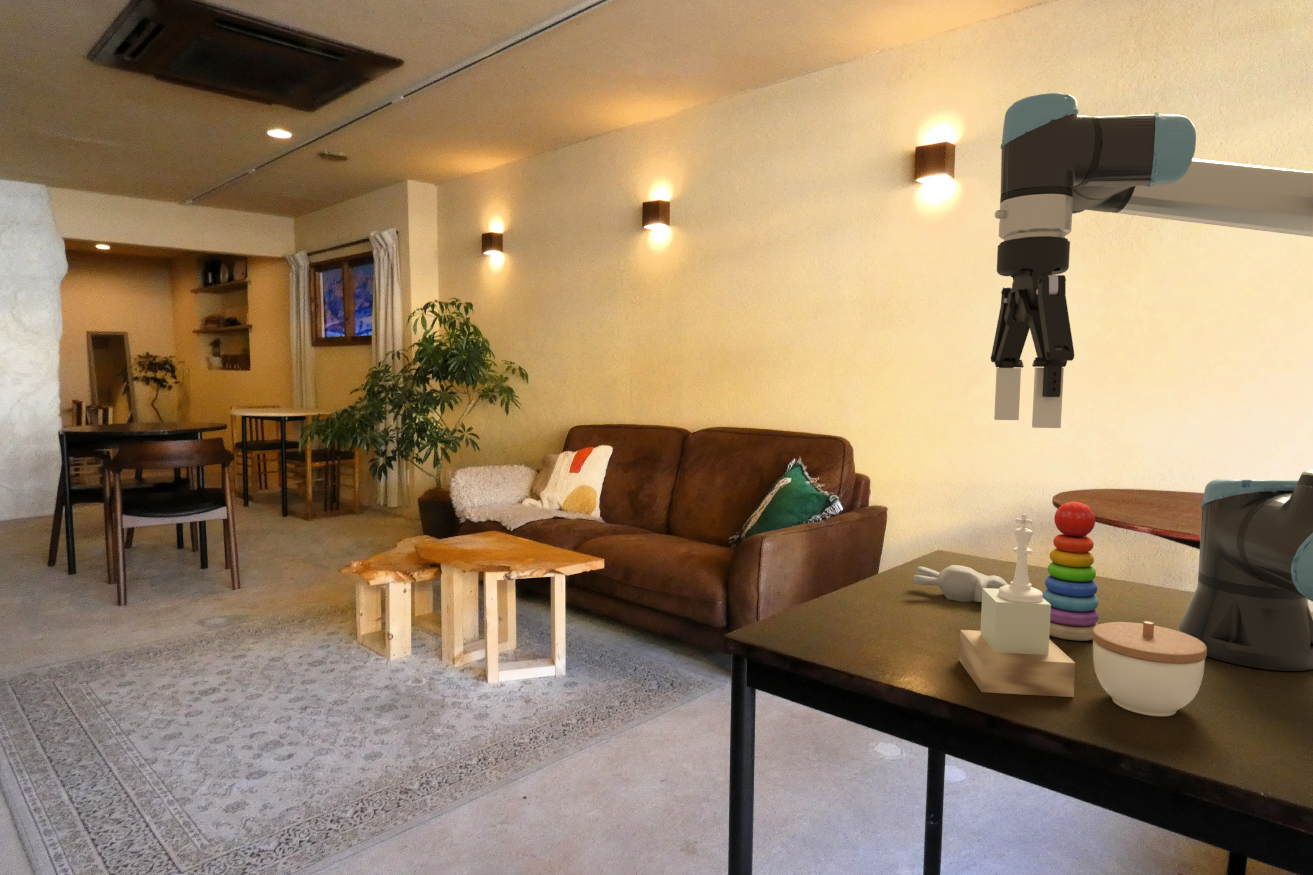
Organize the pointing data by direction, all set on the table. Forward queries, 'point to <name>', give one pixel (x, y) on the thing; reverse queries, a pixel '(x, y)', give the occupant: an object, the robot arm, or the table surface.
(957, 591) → the bunny figurine
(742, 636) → the table surface
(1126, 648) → the lidded jar
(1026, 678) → the plinth
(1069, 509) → the stacking toy
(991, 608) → the cube
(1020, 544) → the chess piece
